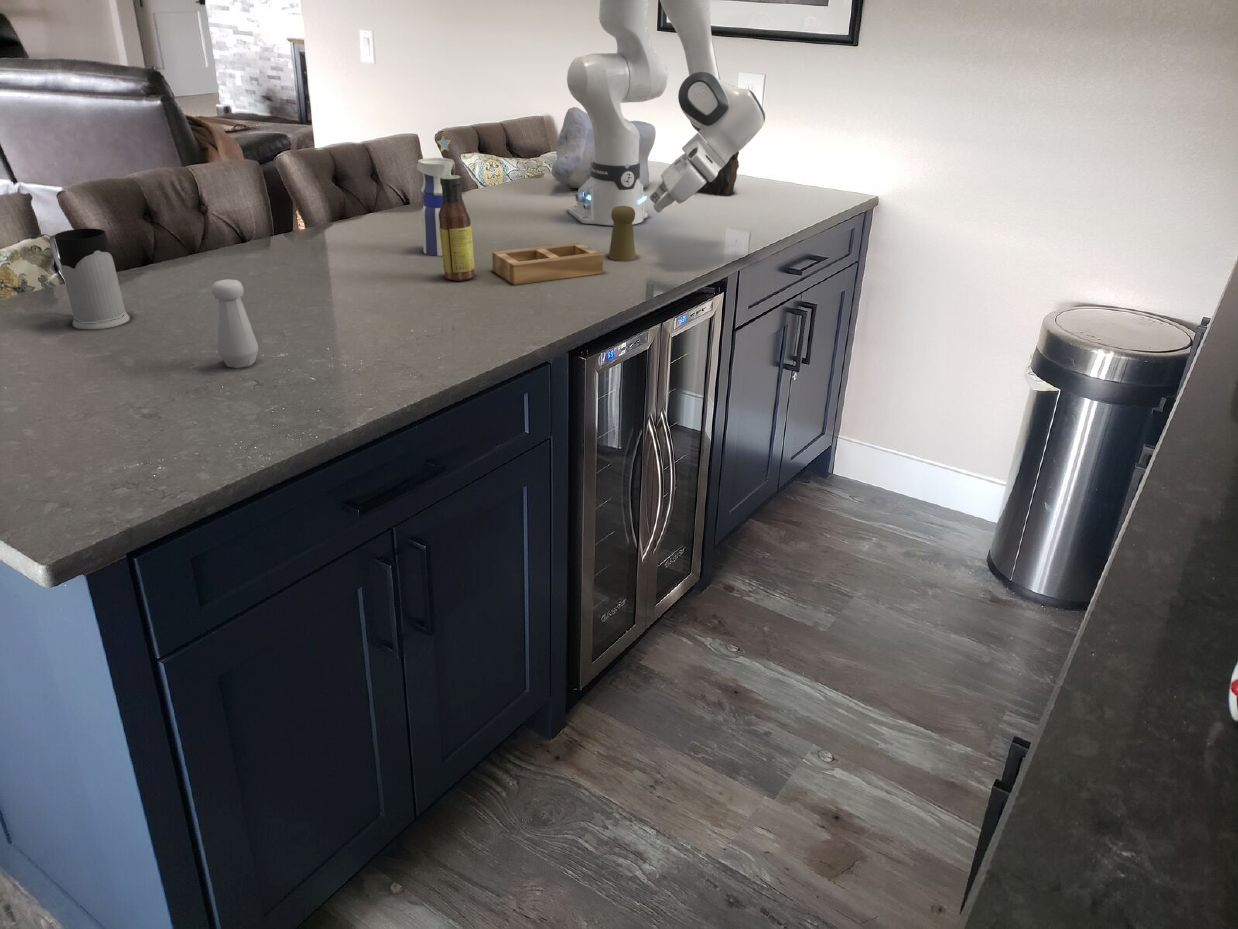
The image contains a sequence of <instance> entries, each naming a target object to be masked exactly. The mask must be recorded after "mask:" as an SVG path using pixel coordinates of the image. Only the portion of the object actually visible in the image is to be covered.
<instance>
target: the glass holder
mask: <svg viewBox="0 0 1238 929" xmlns="http://www.w3.org/2000/svg"><path fill="white" fill-rule="evenodd" d="M49 247H50V250H51V254H52V258H53V260H54V262H55V265H56V267H57V269H58V271H59V273H60V275H61V277H62V278H63V280H64V284H65V288H66V292H67V296H68V300H69V304H70V307H71V311H72V316H73V320H72V326H73V327H74V328H75V329H81V330H103V329H110V328H114V327H118V326H121V325H123V324H125V323H127V322H128V321H130V318H131V317H130V315H129V314H128V313H127V311H126V309H125V305H124V299H123V295H122V292H121V288H120V283H119V278H118V275H117V271H116V266H115V262H114V259H113V255H112V254H111V249H110V244H109V242H108V236H107V232H106V230H104V229H100V228H75V229H69V230H63V231H59V232H57V233H55V234H52V235H50V237H49ZM123 315H124V316H123ZM122 316H123V317H122ZM118 318H119V319H118ZM74 319H76V320H78V321H80V322H77V321H75V320H74ZM113 319H116V320H113ZM110 320H112V321H110ZM106 321H107V322H106ZM81 322H101V323H81Z"/></svg>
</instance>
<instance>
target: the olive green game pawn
mask: <svg viewBox="0 0 1238 929" xmlns="http://www.w3.org/2000/svg"><path fill="white" fill-rule="evenodd" d="M611 218H612V220H613V222H614V224H613V225H612V231H611V237H610V245H609V252H608V258H609V259H610V260H613V261H618V262H628V261H634V260H635V259H636V258H637V257H636V247H635V235H634V226H633V225H634V224H632V222H633V221H634V219H635V211H634V209H633V208H632V207H629V206H617V207H615V208H613V210H612V213H611Z"/></svg>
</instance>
